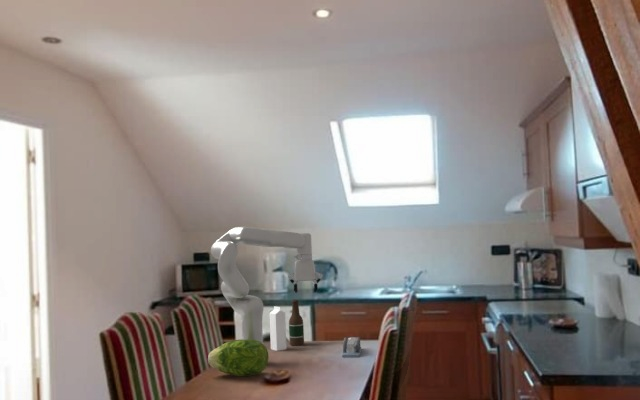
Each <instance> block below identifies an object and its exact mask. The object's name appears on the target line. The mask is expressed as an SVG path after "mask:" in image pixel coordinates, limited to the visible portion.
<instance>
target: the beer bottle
mask: <svg viewBox="0 0 640 400" xmlns="http://www.w3.org/2000/svg"><path fill="white" fill-rule="evenodd" d="M299 302H300V301H299V299H292V300H291V305H292V306H291V307H292V309H291V315H290V318H289V320H288V332H289V334H288V335H289V346H291V347H300V346H304V345H305V329H304V319H303V317H302V315H300V314H301V313H300V307H299V306H300V305H299Z"/></svg>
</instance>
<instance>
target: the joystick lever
mask: <svg viewBox="0 0 640 400" xmlns="http://www.w3.org/2000/svg"><path fill="white" fill-rule="evenodd" d="M356 341H357V337H355V336H351V337H347V354H354V353H355V350H356Z"/></svg>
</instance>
